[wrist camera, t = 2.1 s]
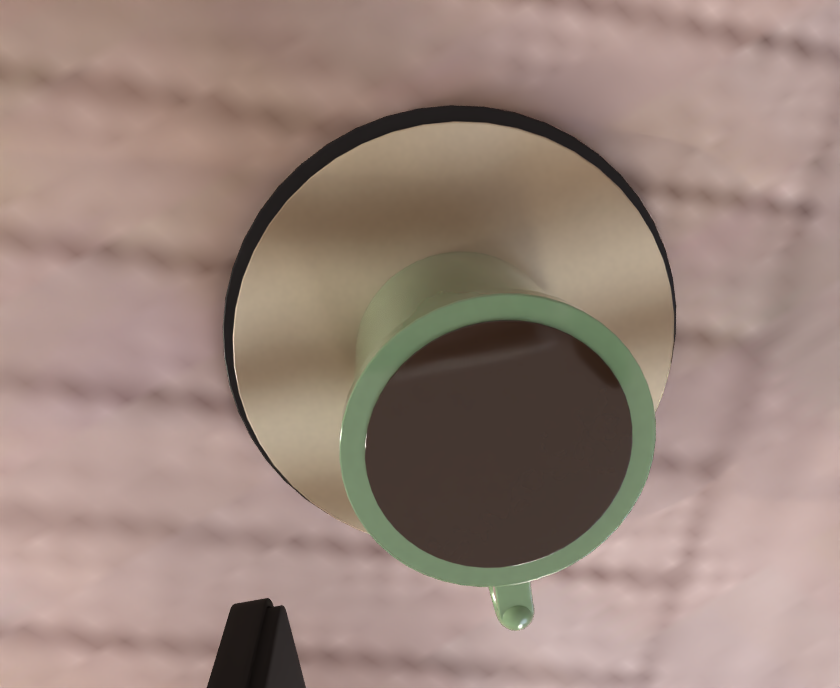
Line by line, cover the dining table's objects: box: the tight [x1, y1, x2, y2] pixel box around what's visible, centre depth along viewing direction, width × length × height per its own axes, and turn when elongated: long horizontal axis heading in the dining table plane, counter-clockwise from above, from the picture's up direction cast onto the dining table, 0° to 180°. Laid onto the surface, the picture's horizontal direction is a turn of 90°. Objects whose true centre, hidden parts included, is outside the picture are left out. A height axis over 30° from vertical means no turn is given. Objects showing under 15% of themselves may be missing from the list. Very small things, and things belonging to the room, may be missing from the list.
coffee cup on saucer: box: [233, 122, 674, 631], centre depth 21 cm, size 15×15×8 cm
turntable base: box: [223, 105, 676, 514], centre depth 25 cm, size 16×16×1 cm
